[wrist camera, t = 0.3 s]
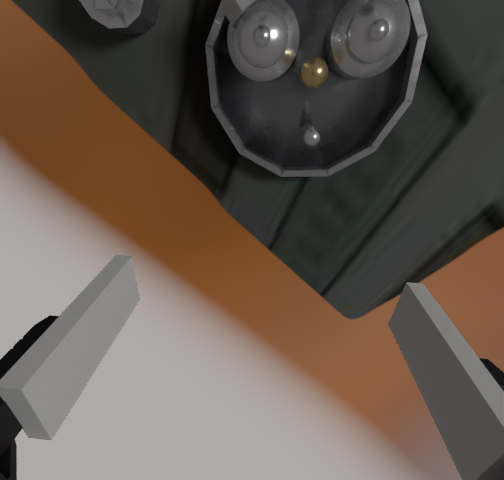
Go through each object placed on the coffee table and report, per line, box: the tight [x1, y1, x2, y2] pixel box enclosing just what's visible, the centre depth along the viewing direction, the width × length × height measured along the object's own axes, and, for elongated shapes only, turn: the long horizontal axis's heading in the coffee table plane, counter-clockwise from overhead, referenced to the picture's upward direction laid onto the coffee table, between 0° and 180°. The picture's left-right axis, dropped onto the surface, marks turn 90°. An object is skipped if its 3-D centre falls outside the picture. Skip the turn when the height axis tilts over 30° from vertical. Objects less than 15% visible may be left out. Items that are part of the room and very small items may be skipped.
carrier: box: [205, 0, 427, 177], centre depth 28 cm, size 22×22×8 cm
